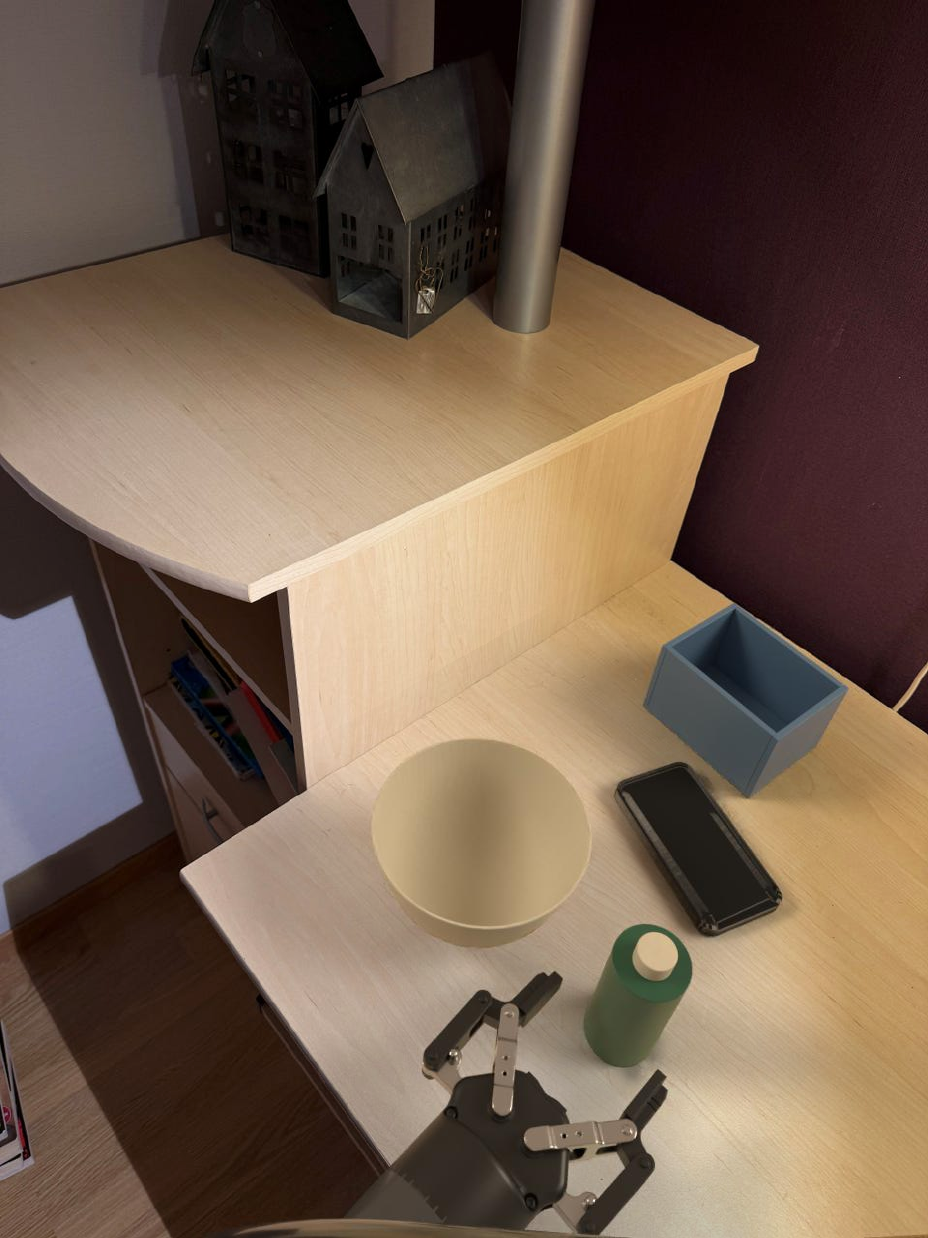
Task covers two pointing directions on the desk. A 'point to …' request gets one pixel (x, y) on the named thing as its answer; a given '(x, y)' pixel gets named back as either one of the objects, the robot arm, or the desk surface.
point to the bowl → (480, 840)
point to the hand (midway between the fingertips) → (607, 1026)
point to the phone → (697, 849)
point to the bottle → (637, 994)
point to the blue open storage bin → (742, 697)
